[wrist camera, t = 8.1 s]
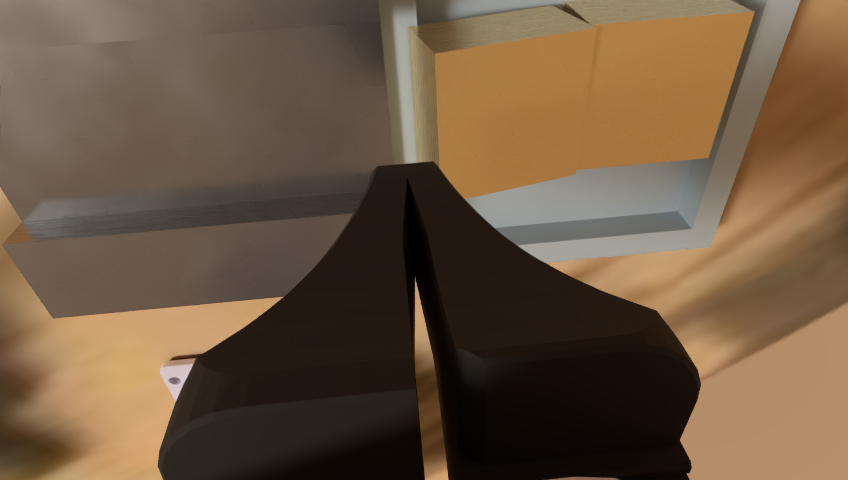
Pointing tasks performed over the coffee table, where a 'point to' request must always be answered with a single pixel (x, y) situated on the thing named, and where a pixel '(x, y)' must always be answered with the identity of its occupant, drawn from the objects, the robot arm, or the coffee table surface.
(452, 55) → the block
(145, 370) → the coffee table surface
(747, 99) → the tray
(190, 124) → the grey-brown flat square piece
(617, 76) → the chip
